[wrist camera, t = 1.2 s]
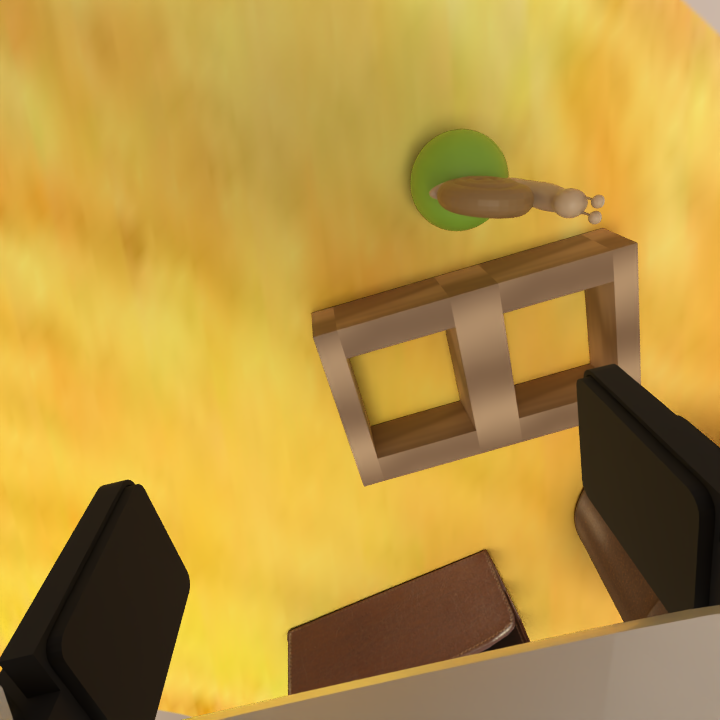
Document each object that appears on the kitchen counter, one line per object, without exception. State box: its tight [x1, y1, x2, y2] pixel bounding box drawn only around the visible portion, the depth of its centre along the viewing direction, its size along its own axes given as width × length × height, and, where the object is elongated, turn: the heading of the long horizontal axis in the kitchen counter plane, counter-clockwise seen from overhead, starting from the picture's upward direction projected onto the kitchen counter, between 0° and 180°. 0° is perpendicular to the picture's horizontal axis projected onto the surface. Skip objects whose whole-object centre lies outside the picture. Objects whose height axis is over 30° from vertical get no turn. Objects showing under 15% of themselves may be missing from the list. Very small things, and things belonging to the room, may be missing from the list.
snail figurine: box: [410, 129, 604, 231], centre depth 27 cm, size 5×6×12 cm
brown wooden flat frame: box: [311, 228, 641, 486], centre depth 36 cm, size 12×20×4 cm, turn 105°
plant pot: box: [575, 489, 669, 622], centre depth 39 cm, size 16×16×16 cm
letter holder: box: [287, 550, 530, 695], centre depth 44 cm, size 10×20×14 cm, turn 115°
